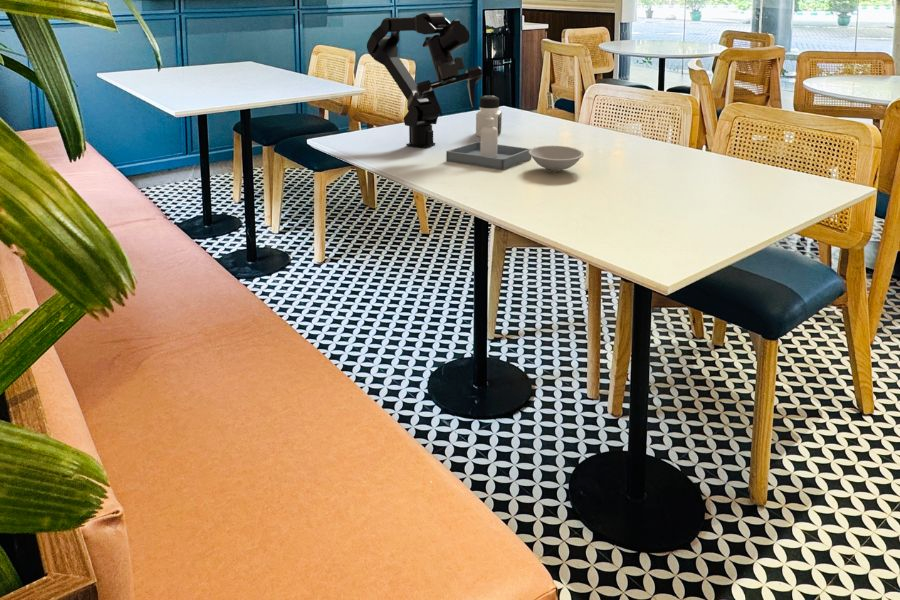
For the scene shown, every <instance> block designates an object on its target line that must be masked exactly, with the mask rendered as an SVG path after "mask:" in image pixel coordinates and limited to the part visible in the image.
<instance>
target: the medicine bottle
mask: <svg viewBox="0 0 900 600" xmlns="http://www.w3.org/2000/svg"><path fill="white" fill-rule="evenodd" d="M489 113H491V117H492V118H494V126H493V127H495V128H497V130H498V137H499V136H500V135H501V133H502V119H503V118H502V115H503V112H502V110H500V98H499V97H497V96H495V95H483V96H481V97H480V98H479V111H478V112H477V113H476V114H475V120H476V121H475V136H476V137H481V130H482V129H483V128H484V127H485V119H486V118H487V117H488V114H489Z"/></svg>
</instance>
